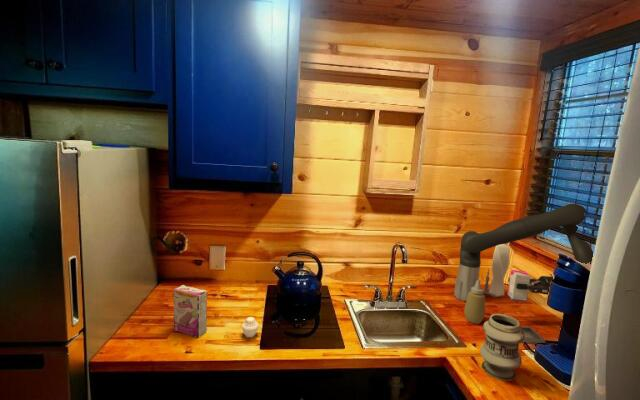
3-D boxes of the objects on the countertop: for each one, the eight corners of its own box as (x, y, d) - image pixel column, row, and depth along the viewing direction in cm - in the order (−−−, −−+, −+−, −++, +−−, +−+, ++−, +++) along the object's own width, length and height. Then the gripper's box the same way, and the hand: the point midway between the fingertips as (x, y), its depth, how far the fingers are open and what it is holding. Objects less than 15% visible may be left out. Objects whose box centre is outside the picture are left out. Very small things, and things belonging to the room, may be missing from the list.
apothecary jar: (471, 359, 117) (477, 310, 114) (504, 359, 118) (511, 311, 115) (490, 383, 105) (498, 329, 102) (527, 383, 106) (536, 330, 103)
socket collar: (517, 342, 129) (518, 338, 129) (505, 328, 139) (505, 325, 139) (544, 344, 129) (545, 340, 129) (530, 330, 139) (530, 327, 139)
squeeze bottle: (483, 318, 147) (488, 279, 144) (483, 327, 139) (489, 285, 137) (463, 314, 150) (468, 275, 147) (462, 322, 143) (467, 281, 140)
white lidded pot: (241, 340, 121) (241, 322, 120) (241, 331, 127) (241, 313, 126) (258, 339, 122) (259, 321, 121) (258, 330, 128) (258, 312, 127)
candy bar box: (173, 331, 124) (172, 289, 122) (182, 325, 129) (182, 284, 126) (198, 338, 121) (198, 295, 118) (207, 331, 125) (207, 289, 123)
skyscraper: (494, 289, 180) (501, 238, 175) (508, 296, 172) (516, 242, 168) (483, 291, 176) (489, 239, 172) (496, 298, 169) (504, 244, 165)
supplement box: (526, 302, 140) (530, 275, 138) (511, 300, 141) (515, 274, 139) (521, 296, 146) (525, 270, 144) (506, 294, 147) (510, 269, 145)
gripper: (544, 271, 148) (505, 268, 149) (566, 284, 134) (523, 281, 135) (542, 287, 149) (503, 284, 150) (563, 301, 135) (520, 298, 136)
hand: (512, 282), depth 142 cm, fingers closed on supplement box, 6 cm apart
